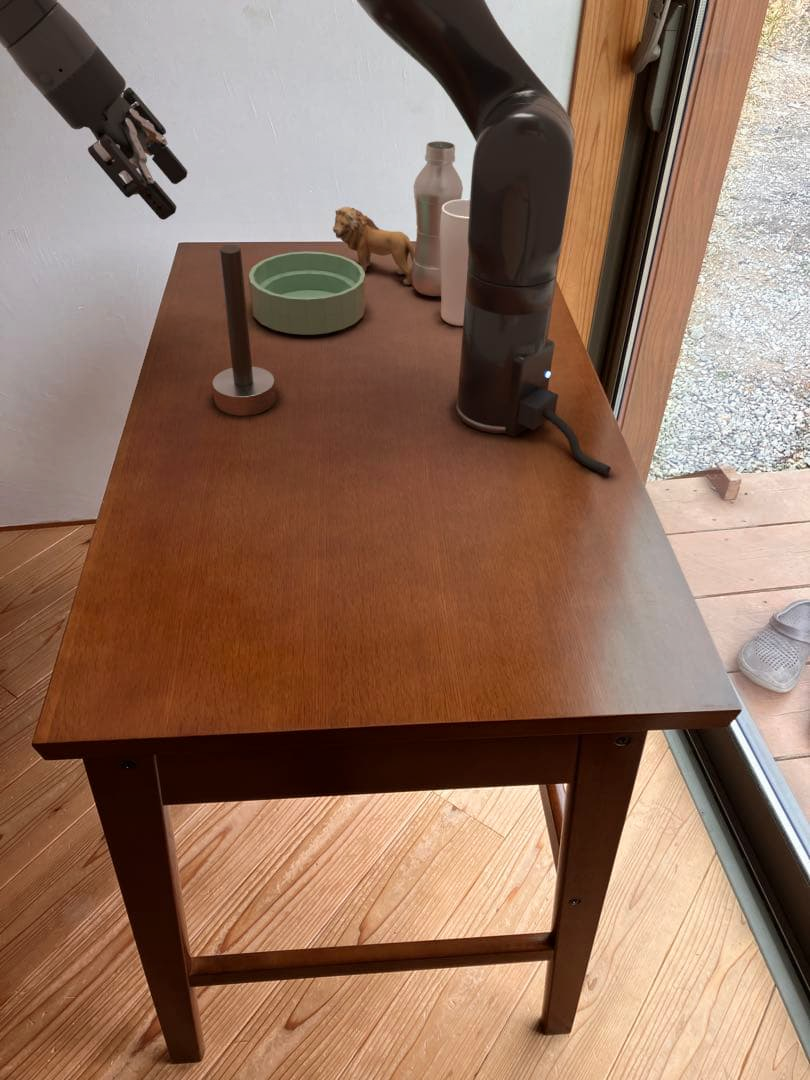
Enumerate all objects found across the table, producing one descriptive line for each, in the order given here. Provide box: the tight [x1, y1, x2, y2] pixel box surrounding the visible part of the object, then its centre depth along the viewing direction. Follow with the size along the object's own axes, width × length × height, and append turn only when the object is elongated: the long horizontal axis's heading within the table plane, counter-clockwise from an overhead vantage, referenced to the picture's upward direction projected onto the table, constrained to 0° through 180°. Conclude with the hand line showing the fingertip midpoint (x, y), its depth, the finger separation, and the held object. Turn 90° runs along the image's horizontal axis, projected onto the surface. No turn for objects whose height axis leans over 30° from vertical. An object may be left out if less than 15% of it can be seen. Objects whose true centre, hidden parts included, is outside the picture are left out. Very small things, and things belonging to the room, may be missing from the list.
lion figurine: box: [332, 206, 415, 286], centre depth 128 cm, size 15×5×9 cm, turn 70°
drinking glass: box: [440, 198, 470, 327], centre depth 116 cm, size 7×7×15 cm
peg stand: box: [212, 244, 277, 417], centre depth 97 cm, size 7×7×18 cm
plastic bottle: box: [411, 140, 464, 297], centre depth 120 cm, size 6×7×20 cm
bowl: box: [248, 251, 366, 336], centre depth 119 cm, size 15×15×6 cm
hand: (176, 196), depth 100 cm, fingers open, 8 cm apart
